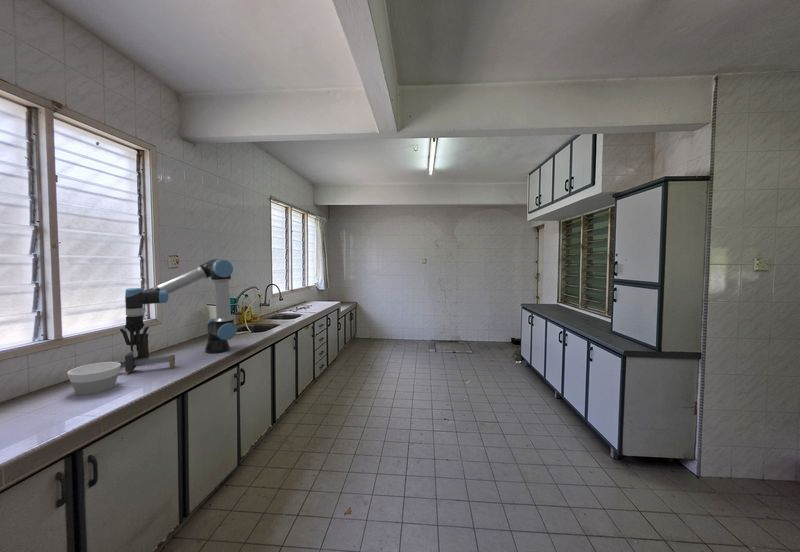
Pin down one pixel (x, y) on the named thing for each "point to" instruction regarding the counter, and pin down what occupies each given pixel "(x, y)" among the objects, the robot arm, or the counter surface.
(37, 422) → the counter surface
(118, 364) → the bowl
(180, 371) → the counter surface
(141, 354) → the container
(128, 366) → the collar
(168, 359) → the bar
